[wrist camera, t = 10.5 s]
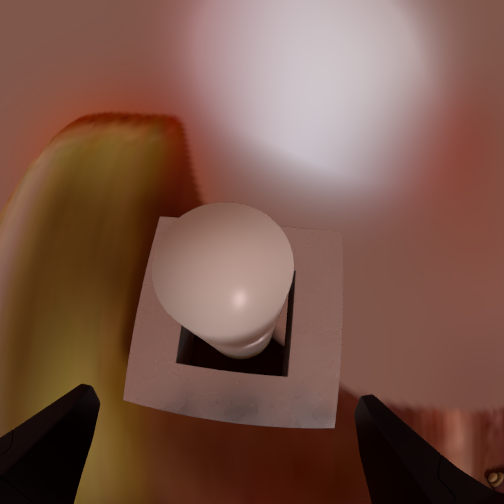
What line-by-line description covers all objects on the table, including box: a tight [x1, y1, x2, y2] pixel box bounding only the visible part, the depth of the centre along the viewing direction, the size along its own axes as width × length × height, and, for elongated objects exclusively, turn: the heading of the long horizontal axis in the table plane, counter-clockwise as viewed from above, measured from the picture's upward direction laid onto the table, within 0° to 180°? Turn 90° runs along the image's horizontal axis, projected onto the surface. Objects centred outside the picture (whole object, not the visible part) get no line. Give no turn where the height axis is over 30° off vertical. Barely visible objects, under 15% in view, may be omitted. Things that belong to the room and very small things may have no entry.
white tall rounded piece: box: [152, 202, 294, 360], centre depth 15 cm, size 4×4×12 cm
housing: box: [123, 217, 343, 428], centre depth 18 cm, size 12×12×4 cm
